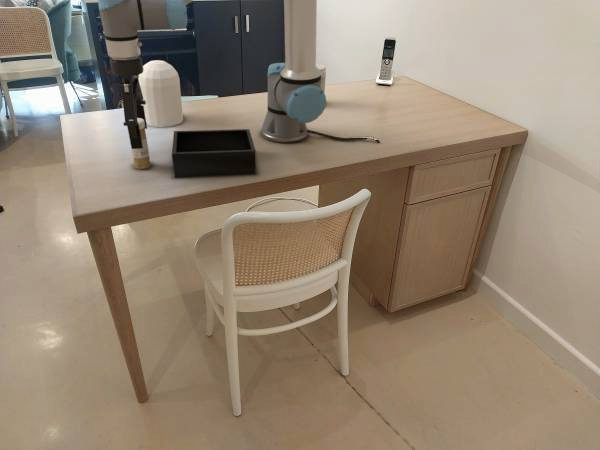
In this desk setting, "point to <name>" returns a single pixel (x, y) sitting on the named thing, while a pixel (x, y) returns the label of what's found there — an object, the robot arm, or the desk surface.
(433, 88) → the desk surface
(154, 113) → the container
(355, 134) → the desk surface
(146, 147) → the sprinkles bottle
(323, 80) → the supplement tub
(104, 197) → the desk surface
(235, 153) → the black open box
